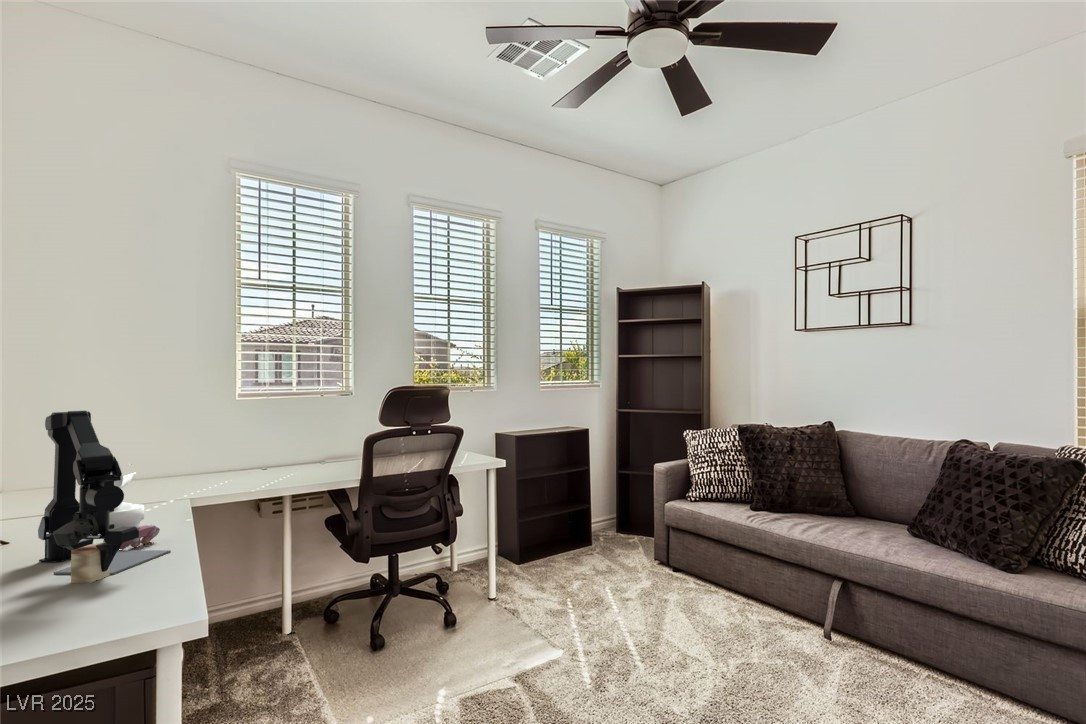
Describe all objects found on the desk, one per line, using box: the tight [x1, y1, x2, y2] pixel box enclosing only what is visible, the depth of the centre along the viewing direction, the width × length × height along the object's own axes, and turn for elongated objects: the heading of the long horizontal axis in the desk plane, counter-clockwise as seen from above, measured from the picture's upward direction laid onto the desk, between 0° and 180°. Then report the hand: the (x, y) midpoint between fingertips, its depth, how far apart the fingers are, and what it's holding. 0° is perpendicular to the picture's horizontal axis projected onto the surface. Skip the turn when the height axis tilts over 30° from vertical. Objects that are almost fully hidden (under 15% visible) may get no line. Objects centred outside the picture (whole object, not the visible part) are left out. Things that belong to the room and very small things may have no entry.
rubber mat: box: [53, 549, 171, 576], centre depth 143 cm, size 16×18×1 cm
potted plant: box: [109, 459, 145, 531], centre depth 165 cm, size 13×12×25 cm
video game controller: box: [119, 524, 161, 550], centre depth 158 cm, size 10×5×7 cm, turn 169°
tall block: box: [70, 543, 110, 584], centre depth 130 cm, size 5×5×8 cm
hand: (94, 571), depth 131 cm, fingers closed on tall block, 5 cm apart
